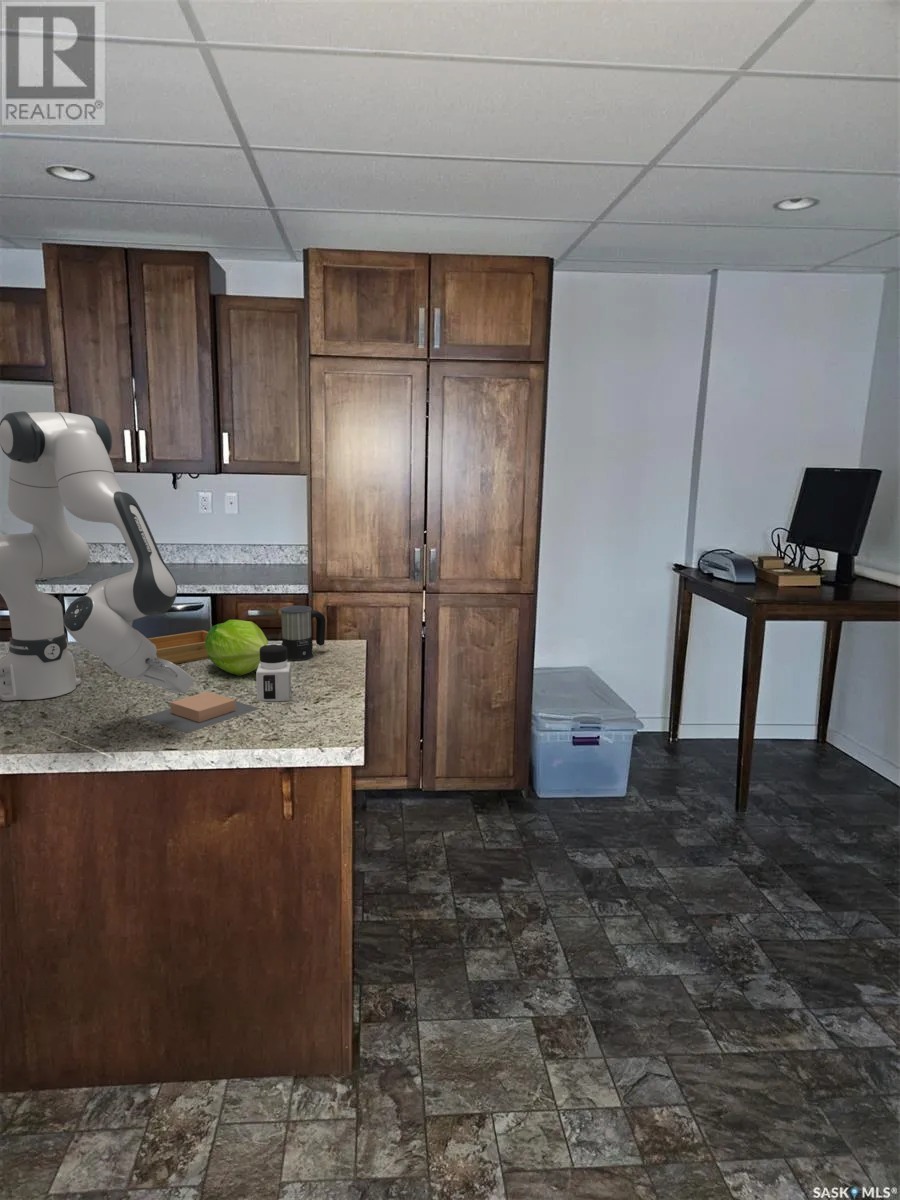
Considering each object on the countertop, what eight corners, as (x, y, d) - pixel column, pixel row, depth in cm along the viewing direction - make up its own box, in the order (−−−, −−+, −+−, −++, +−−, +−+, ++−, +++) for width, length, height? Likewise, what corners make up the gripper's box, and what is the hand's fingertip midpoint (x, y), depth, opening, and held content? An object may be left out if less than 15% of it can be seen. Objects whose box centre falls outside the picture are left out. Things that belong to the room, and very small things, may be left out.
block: (170, 702, 165) (207, 691, 173) (170, 713, 165) (207, 702, 174) (198, 711, 159) (235, 699, 168) (199, 723, 160) (235, 710, 168)
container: (289, 701, 177) (288, 649, 175) (256, 702, 176) (255, 650, 174) (291, 691, 185) (290, 641, 182) (259, 692, 184) (258, 642, 181)
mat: (141, 719, 163) (141, 717, 163) (215, 696, 179) (215, 695, 179) (187, 735, 154) (186, 733, 154) (260, 710, 170) (260, 708, 170)
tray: (203, 646, 228) (203, 628, 227) (230, 655, 218) (229, 637, 217) (103, 664, 206) (102, 644, 205) (127, 675, 196) (126, 655, 195)
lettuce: (291, 668, 202) (246, 688, 189) (236, 654, 214) (191, 673, 202) (284, 618, 197) (238, 636, 185) (229, 607, 210) (183, 623, 198)
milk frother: (296, 663, 211) (296, 612, 208) (258, 654, 219) (257, 605, 216) (330, 653, 223) (330, 605, 220) (293, 645, 231) (292, 599, 228)
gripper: (174, 651, 146) (215, 686, 156) (114, 636, 157) (156, 670, 167) (155, 678, 143) (199, 712, 153) (95, 660, 154) (140, 693, 164)
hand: (176, 690), depth 160 cm, fingers closed
